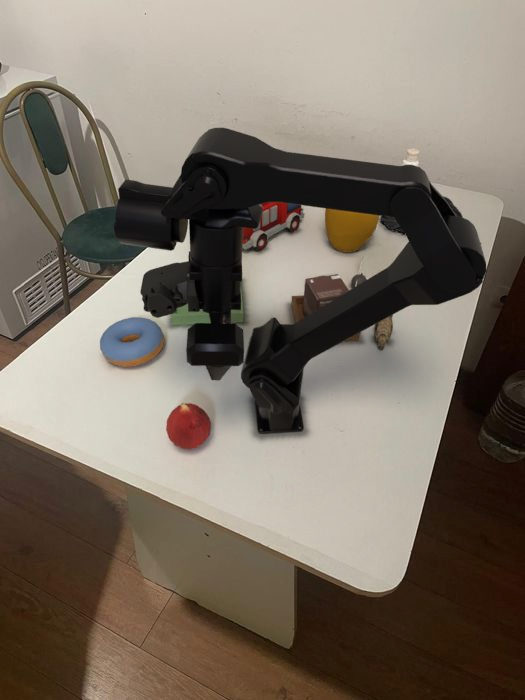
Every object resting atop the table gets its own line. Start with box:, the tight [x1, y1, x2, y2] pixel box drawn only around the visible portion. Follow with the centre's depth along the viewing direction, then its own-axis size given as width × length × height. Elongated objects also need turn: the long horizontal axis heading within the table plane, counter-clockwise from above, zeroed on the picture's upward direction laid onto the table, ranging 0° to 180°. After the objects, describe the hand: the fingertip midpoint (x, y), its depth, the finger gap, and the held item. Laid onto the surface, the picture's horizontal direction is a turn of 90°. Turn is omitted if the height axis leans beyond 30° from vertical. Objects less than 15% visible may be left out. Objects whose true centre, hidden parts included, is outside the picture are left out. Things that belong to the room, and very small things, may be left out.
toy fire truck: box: [242, 202, 305, 252], centre depth 107 cm, size 9×19×10 cm, turn 137°
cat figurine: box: [374, 314, 394, 351], centre depth 85 cm, size 3×8×4 cm, turn 166°
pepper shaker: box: [400, 147, 420, 167], centre depth 120 cm, size 5×5×11 cm
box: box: [302, 273, 350, 317], centre depth 86 cm, size 6×6×7 cm
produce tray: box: [170, 289, 245, 326], centre depth 92 cm, size 12×12×2 cm
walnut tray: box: [290, 294, 362, 342], centre depth 88 cm, size 10×10×2 cm
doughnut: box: [99, 316, 165, 368], centre depth 82 cm, size 10×10×5 cm
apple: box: [324, 208, 380, 253], centre depth 103 cm, size 11×11×13 cm
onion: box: [165, 402, 212, 450], centre depth 68 cm, size 6×6×8 cm
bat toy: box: [350, 253, 367, 289], centre depth 95 cm, size 3×15×5 cm, turn 164°
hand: (216, 353), depth 67 cm, fingers open, 9 cm apart
